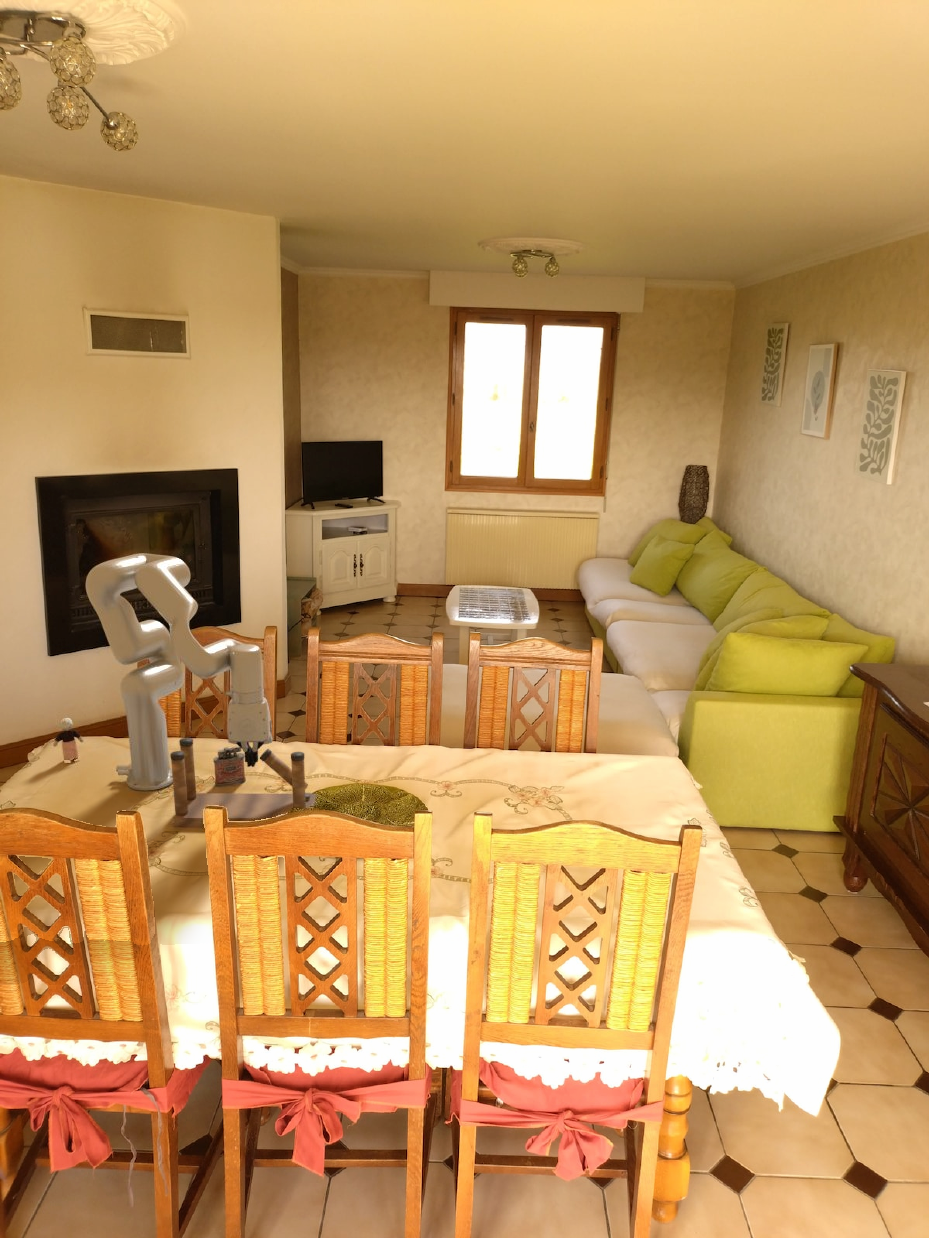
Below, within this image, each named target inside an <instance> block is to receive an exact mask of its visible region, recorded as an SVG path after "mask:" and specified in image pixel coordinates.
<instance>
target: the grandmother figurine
mask: <svg viewBox="0 0 929 1238" xmlns="http://www.w3.org/2000/svg"><path fill="white" fill-rule="evenodd" d="M73 724H74V723H73V720H72V719H71V718H69V717H64V718H62V719H61V720H60V722H59V728H60V729H62V730H63V731H61V732H60V733H58V734H57V735H56V737H55V738H54V742H53V744H52V746H53V747H57V746H58V743H59V742H61V748H62V749H61V750H62V755H63V761H64V760H70V759H71V760H73V758H74V760H76V759H78V757H80V755H79V749H78V745H77V741H76V739H75V738H77V739H78V741H79V742H80V743H84V739H83V737H82V736H81V734H80V733H79V732H78V731H77V730H75V729H73Z"/></svg>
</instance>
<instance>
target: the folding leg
mask: <svg viewBox="0 0 929 1238" xmlns="http://www.w3.org/2000/svg"><path fill="white" fill-rule="evenodd" d="M259 760H261V761H262V762H264V763H265V764H266V765H267V766H268V767H269V768H270V769H271V770H272V771H273V772H275V773H276V774H277V775H278V776H279V777H281V778H282V779H283V780H284V781H285V782H286V783H287V784H288V785H289V786H290V787H292V768H290V767H289V765H287V764H286V763H285V762H284V761H282V759H280V758H279V757H278V756H277V755H276V754H274V753H273V751H272V750H271V749H269V748H267V749H266V750H265V751H264V752H263V753H262V754H261V755H260V757H259ZM308 786H309V784H308V783H307V781H305V790H306V789H307V788H308Z"/></svg>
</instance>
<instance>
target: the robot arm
mask: <svg viewBox="0 0 929 1238" xmlns="http://www.w3.org/2000/svg"><path fill="white" fill-rule="evenodd" d="M190 580H191V571H190V568H189V566H188V565H187V563H186V562H184V561H183V560H182V559H180V558H178V557H176V556H172V555H171V556H170V555H164V554H163V555H162V554H154V553H143V552H142V553H133V554H131V555H127V556H123V557H118V558H113V559H110V560H107V561H104V562H101V563H99V564H97V565H95V566H94V567H93V568H91V570H90V571H89V572H88V574H87V576H86V580H85V591H86V594H87V598H88V599H89V602H90V603H91V606H92V607H93V609H94V611H95V612H96V614H97V616H98V619H99V621H100V622H101V623H100V624H101V625H102V626H101V627H102V629H103V631H104V633H105V637H106V639H107V642H108V644H109V647H110V650H111V652H112V654H113V656H114V658H115V660H116V662H118V663H119V664H121V665H122V666H129V665H133V664H137V663H139V662H141V661H144V660H147V659H148V662H149V663H146V664H144V665H142V666H138V667H137V668H134V669H132V670H130V671H128V672H127V673H126V674H125V675H124V676H123V677H122V678H121V681H120V685H119V691H120V695H121V697H122V701H123V705H124V708H125V713H126V722H127V730H128V741H129V753H130V763H129V764H128V765H127V764H117V765H116V768H115V771H116V773H117V775H118V776H127V777H126V786H127V787H129V788H131V789H133V790H135V791H141V792H142V791H143V792H145V791H156V790H161V789H163V788H167V787H168V786H170V785H173V776H172V768H171V767H170V757H169V756H170V755H169V743H168V741H169V740H168V730H167V720H166V718H167V717H166V715H165V712H164V709H163V708H162V706H160V704H159V700H160V699H162V698H164V697H166V696H168V695H170V694H174V693H175V692H176V691H178V690H180V689H181V687H182V686H183V685H184V682H185V672H184V668H183V665H184V666H185V667H186V669H188V670H189V671H190V672H191V673H192V674H193V675H194V676H196V677H198V678H201V679H204V680H206V679H211V678H213V677H216V676H218V675H220V674H222V673H224V672H227V671H230V681H231V689H229V690H226V691H225V696H226V697H230V698H231V699H230V701H229V703H228V708H227V733H226V734H227V738H228V740H227V741H228V743H229V744H232V745H236V746H239V747H241V750H242V752H244V753H243V754H244V763H246V764H247V765H246V766H247V767H246V768H250V767H252V768H254V767H255V766H256V764H257V763H258V762H259V749H260V748H261V747H262V746H263V745H268V744H272V742H273V735H272V720H271V713H270V707H269V702H268V700H267V698H266V697H265V690H264V673H263V672H264V669H263V655H262V649H261V648H260V646H258V645H256V644H250V643H249V644H246V643H243V642H240V641H237V640H235V639H233V638H229V637H228V638H222V639H220V640H217V641H214V642H212V643H209V644H207V645H205V646H202V645H201V644H200V643H199V641H198V640H197V639H196V637H194V635H193V634H192V632H191V628H190V620H192V618H193V617H194V616H195V615H196V614H197V611H198V608H199V604H198V602H197V601H196V600H195V599H194V598H193V596H192V595H191V593H189V592H188V591H187V589H186V588H185V587H186V586H187V585H189V583H190ZM134 589H138V591H139V592H141V594H142V595H143V596H144V597H145V599H147V601H148V602H149V603H150V604H151V605H152V606H153V608H154V609H155V610H156V611H157V612H158V613H159V615H160V616H161V617H162V618H163V619H164V621H166V623H168V625H169V629H168V628H167V627H166V626H165V625H164V624H163V623H161V622H160V621H158V620H155V619H146V620H144V621H140V622H139V620H138V618H137V615H136V613H135V609H134V608H133V606H132V605H131V603H130V602H129V601H128V600H127V599H126V598H125V597H123V596H122V595H121V594H122V593H124V592H128V591H132V590H134ZM182 663H183V665H182ZM250 743H252V747H251V745H250Z"/></svg>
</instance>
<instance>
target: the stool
mask: <svg viewBox="0 0 929 1238" xmlns="http://www.w3.org/2000/svg"><path fill="white" fill-rule="evenodd" d="M179 747H180V748H179V749H180V750H175V751H172V752H171V753H170V755H169V756H170V760H171V761H170V762H171V769H172V776H173V783H172V788H173V803H174V813H175V815H174V816H173V827H174V828H205V827H204V824H203V809H204V808H205V807H206V806H207V805H219V806H224V807H226V808H227V811H228V819H229V821H255V820H261V819H266V818H272V817H276V816H278V815H281V814H286V813H287V812H288V811H289V810H291V809H292V808H299V809H303V808H314V807H309V806H314V804H315V801H316V797H317V798H318V794H317V793H310V792H306V789H305V782H306V780H305V779H306V777H305V775H306V773H305V753H304V752H303V751H294V752H292V753H291V754H290V759H291V760H290V763H291V770H292V786H291V787H292V793H239V792H237V793H229V792H228V793H217V792H215V793H214V792H213V793H212V792H211V793H208V792H207V793H202V792H201V793H200V792H197V785H196V772H195V760H194V759H195V758H194V755H195V754H194V739H193V738H191V737H183V738H180V739H179Z"/></svg>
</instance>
